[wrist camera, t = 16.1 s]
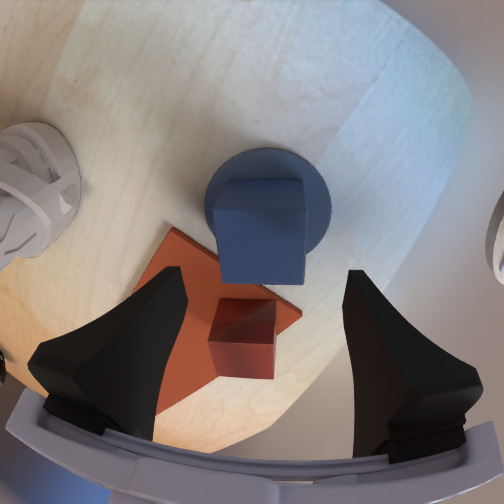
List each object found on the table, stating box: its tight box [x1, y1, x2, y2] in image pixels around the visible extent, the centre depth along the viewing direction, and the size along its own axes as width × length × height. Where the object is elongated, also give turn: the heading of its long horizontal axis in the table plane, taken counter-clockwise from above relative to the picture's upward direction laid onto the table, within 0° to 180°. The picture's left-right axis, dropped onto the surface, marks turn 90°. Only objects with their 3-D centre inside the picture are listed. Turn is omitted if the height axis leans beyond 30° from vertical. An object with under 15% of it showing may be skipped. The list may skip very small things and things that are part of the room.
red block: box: [207, 298, 277, 379], centre depth 21 cm, size 4×4×4 cm
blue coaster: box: [205, 148, 332, 254], centre depth 18 cm, size 8×8×1 cm
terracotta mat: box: [132, 227, 302, 416], centre depth 31 cm, size 40×12×1 cm, turn 143°
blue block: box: [212, 179, 308, 285], centre depth 16 cm, size 4×4×4 cm
